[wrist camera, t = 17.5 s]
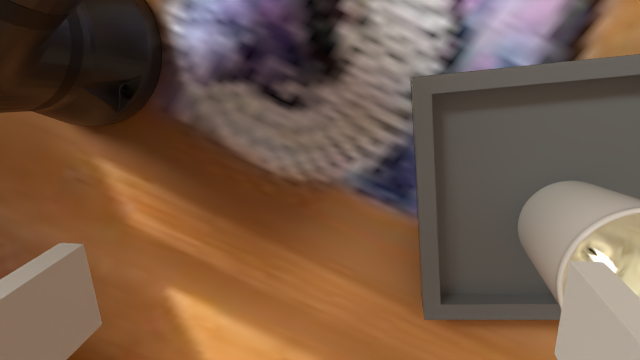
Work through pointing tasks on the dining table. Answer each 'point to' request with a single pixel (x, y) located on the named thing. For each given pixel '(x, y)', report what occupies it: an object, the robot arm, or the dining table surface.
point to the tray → (511, 172)
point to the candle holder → (581, 232)
